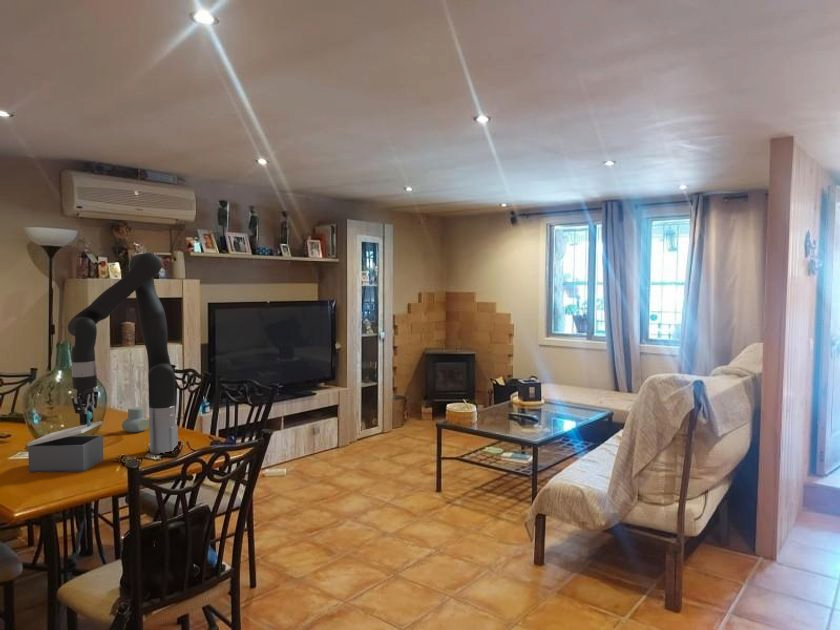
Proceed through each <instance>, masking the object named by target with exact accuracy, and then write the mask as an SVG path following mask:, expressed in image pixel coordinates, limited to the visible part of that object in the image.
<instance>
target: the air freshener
mask: <svg viewBox="0 0 840 630" xmlns="http://www.w3.org/2000/svg"><path fill="white" fill-rule="evenodd" d="M121 427H122V429H123V430H124V431H125V432H128V433H142V432H143V431H145V430H147V429H149V418H147V417H144V408H143V407H142V406H136V407H135V406H134V407H129V408H128V409H127V418H126V419H125V420H123V421H122V423H121Z"/></svg>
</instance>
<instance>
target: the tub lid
mask: <svg viewBox="0 0 840 630" xmlns="http://www.w3.org/2000/svg"><path fill="white" fill-rule="evenodd" d="M91 418H92V413H91V412H90V411H87V424H86V425H79V426H76V427H75V426H74V427H69V428H66V429H62V430H58V431H54V432H51V433H47V434H45V435H43V436H41V437H39V438H36V439H33V440H32V441H31V440H30V441H29V442H27V443H26V445H27V447H28V446H31V445H35V444H39V443H43V442H48V441H52V440H56V439H60V438H64V437H68V436H78V435H79V434H80V435H81V434H83V433H86V432H88V431H89V430H93V429H94V428H96V427H98V426H100V425H102V424H103V421H102V420H100V421H96V422H90V419H91Z"/></svg>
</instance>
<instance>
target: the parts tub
mask: <svg viewBox="0 0 840 630" xmlns="http://www.w3.org/2000/svg"><path fill="white" fill-rule="evenodd" d="M27 452H28V453H27V454H28V474H30V473H31V474H33V473H34V474H38V473H37V472H47V473H84V472H86V471H88V470H90V469H91V468H93V467H95V466H96V465H97V464H99V463H101V462H103V461H104V456H105V455H104V435H100V434H99V435H73V436H68V437H64V438H60V439H56V440H52V441H48V442H43V443H39V444H35V445H31V446H27Z"/></svg>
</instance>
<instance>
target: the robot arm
mask: <svg viewBox="0 0 840 630" xmlns="http://www.w3.org/2000/svg"><path fill="white" fill-rule="evenodd" d="M162 266H163V265H162V260H161V258H160V256H158V255H157V254H155V253H151V252H143V253H137V254H136V255H134V256H132V257H131V259H130V260H129V265H128V267H129V271H128V272H127V273H126V274H125V275H124V276H123V277H122V278H120V279H119V280H118V281H116V282H115V283H114V284H112V285H111V286H109V287H108V288H107V289H105V290H104V291H103V292H102V293H100V295H98V296H97V298H95V299H94V300H93V301H92V302H91V304H89V305H88V306H87V307H86V308H83V310H81V311H79V313H77V314H76V315H74V317H72V318H71V320H70V321H69V322H68V325H67V331H68V333H69V334H70V335H72V336H73V337H74V345H73V346H72V348H71V382H72V383H71V384H72V389H73V390H76V396H75V397H73V398H71V402H72V406H73V409H74V413H75V415H76V414H77V415H79V426H82V425H87V411H90V412H91V413H92V418H91V419H90V423H94V411H95V409H97V408H98V399H99V391H95V390H94V389H95V388H97V387H98V375H97V364H96V350H95V346H96V344H97V343H96V341H97V333H98V329H97V324H98V323H99V322H101V321H104V320H105V319H107V318H108V317H109V316H110V315H112V313H114V311H116V310H117V309H118V308H119V306H121V304H122V303H124V301H126V300H127V299H128V298H129V297H130V296H131V295H132V294H133V293H134V292H135V293H134V294H135V298H136V306H137V313H138V321H139V322H138V323H139V328H140V332H141V333H140V334H141V336H142V340H143V343H144V347H145V350H146V353H147V367H148V368H147V370H148V371H147V382H148V383H147V384H148V420H149V426H148V430H149V436H148V437H149V453H150V454H153V455H159V454H160V453H163V454H166V453H165V452H168V451H173V450H174V448H175V447H176V446H177V445H178V446H179V444H178V443H179V436H178V434H179V432H178V431H179V430H178V429H179V428H178V424H177V423H176V374H175V371H174V370H173V367H172V363H171V360H170V355H169V348H168V323H167V317H166V312H165V309H164V306H163V304H162V301H161V300H160V298H159V296H158V294H157V291H156V287H155V286H156V285H155V279H154V277H155V276H157V275H159V273H160V272H161V269H162ZM160 455H161V454H160Z"/></svg>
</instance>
